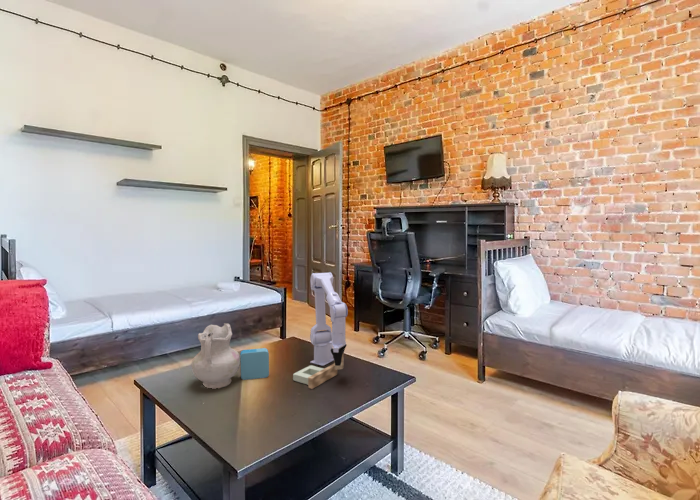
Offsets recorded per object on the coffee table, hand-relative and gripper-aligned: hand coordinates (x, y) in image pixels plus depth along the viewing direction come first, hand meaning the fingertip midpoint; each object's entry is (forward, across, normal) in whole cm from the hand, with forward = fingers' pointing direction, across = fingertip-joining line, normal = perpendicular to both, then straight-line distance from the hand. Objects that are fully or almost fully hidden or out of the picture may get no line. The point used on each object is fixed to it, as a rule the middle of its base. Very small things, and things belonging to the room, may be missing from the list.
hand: (338, 363), depth 163 cm
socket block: (+8, -1, -13) cm, 15 cm away
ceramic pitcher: (+8, +10, -51) cm, 52 cm away
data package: (+8, 0, -38) cm, 38 cm away
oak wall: (+8, 0, -7) cm, 10 cm away
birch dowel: (+2, 0, 0) cm, 2 cm away
